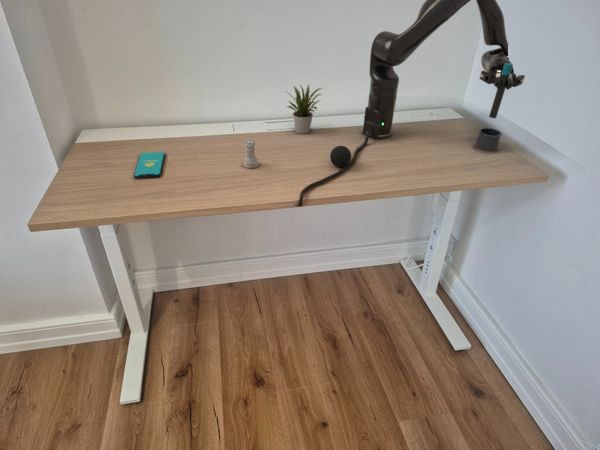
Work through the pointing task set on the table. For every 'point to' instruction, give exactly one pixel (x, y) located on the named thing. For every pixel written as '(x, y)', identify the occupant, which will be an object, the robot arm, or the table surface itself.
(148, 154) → the passport
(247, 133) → the table surface
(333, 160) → the black round ball
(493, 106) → the marker
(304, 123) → the house plant
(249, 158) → the rook chess piece
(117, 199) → the table surface
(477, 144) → the pen cup
